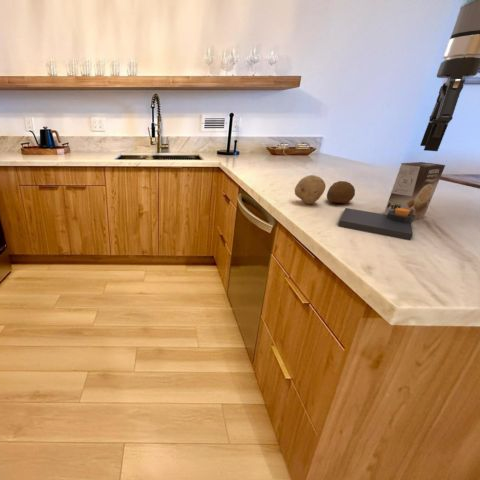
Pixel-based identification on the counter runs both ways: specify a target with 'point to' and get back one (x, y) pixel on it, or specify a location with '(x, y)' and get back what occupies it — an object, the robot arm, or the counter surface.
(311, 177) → the light tan potato
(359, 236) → the counter surface
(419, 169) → the coffee box
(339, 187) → the potato
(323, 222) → the counter surface
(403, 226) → the scale
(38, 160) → the counter surface
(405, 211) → the tare button
